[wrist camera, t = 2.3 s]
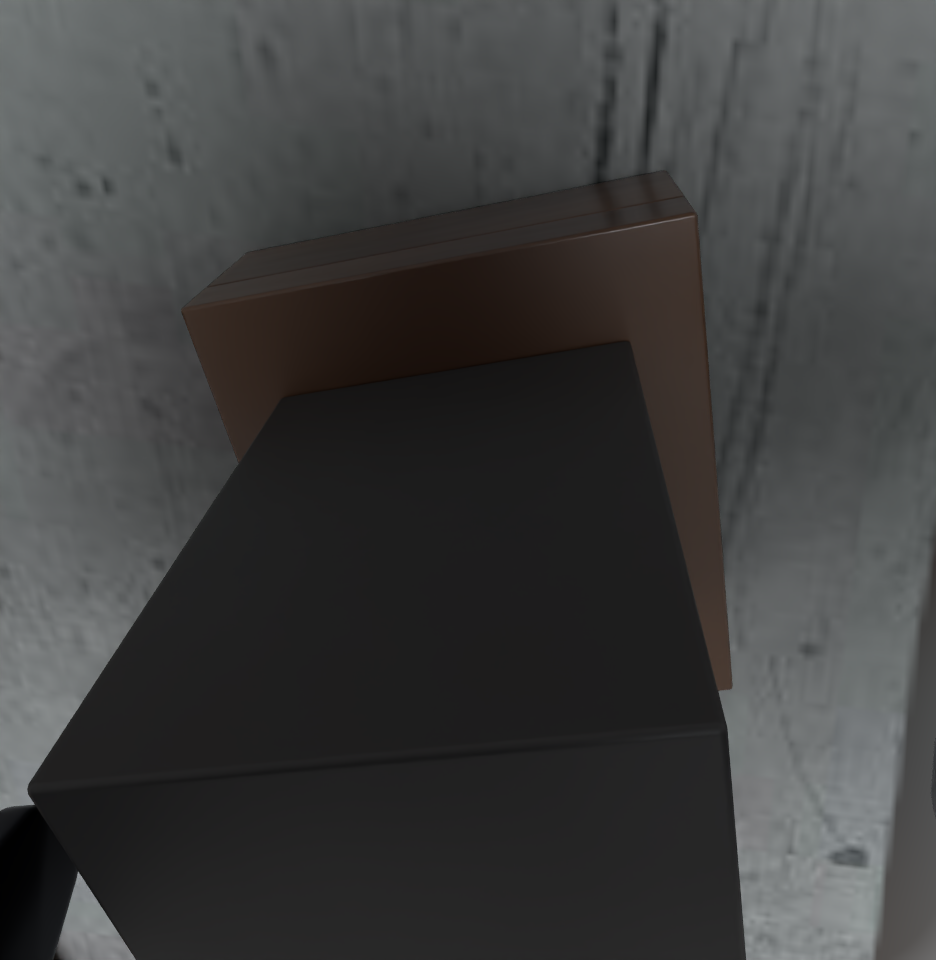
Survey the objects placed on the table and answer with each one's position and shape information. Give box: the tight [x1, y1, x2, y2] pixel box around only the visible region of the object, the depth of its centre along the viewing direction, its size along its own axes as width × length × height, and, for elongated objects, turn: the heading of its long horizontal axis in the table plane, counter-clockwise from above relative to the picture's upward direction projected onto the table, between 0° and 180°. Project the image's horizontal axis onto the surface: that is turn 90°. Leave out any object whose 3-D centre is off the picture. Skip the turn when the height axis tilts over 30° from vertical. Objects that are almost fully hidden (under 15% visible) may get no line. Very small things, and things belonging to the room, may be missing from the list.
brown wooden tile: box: [181, 171, 733, 691], centre depth 14 cm, size 7×8×3 cm
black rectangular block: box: [27, 341, 746, 960], centre depth 10 cm, size 5×5×7 cm
